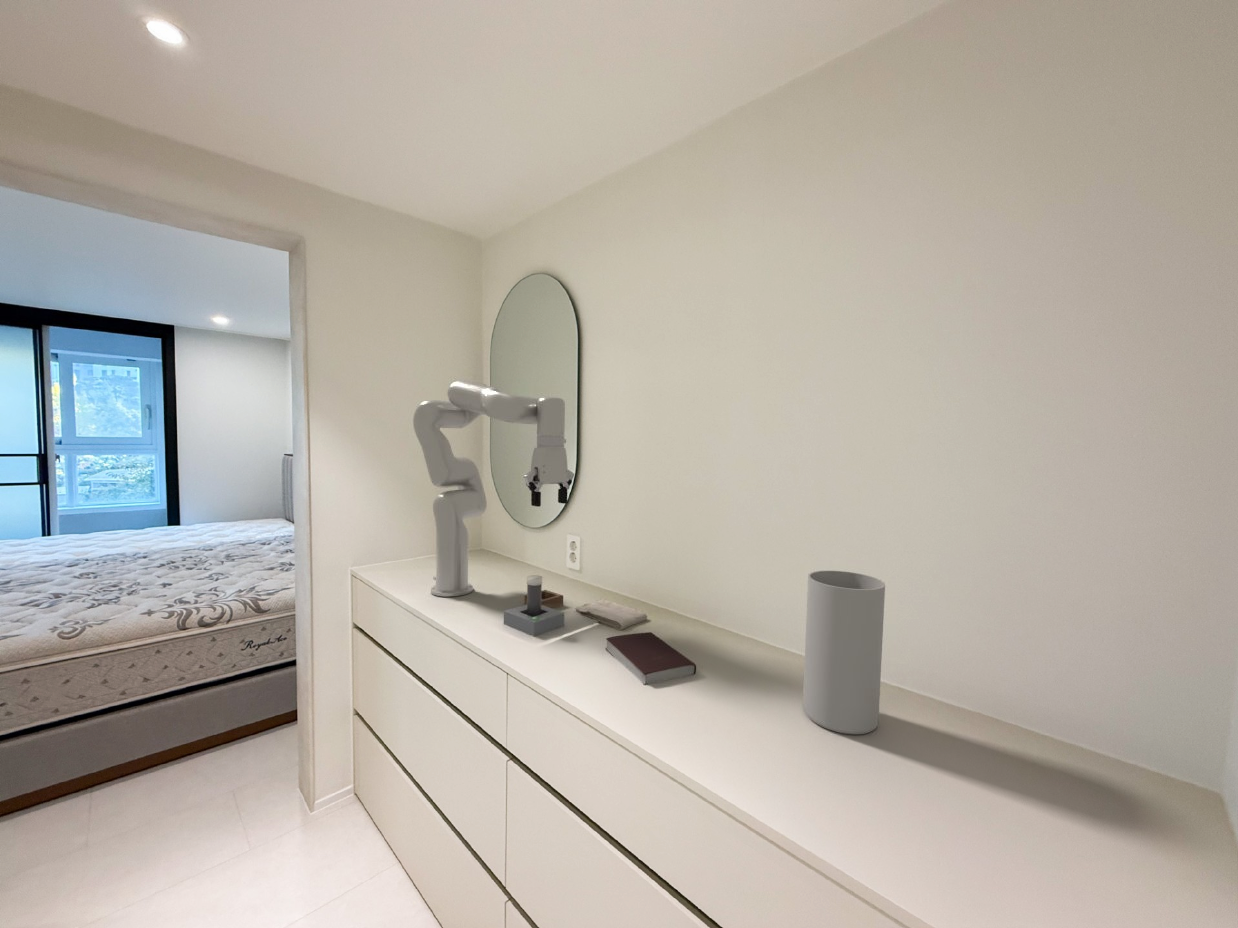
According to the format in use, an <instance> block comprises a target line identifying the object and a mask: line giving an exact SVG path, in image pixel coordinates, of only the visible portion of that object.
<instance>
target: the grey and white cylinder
mask: <svg viewBox="0 0 1238 928" xmlns="http://www.w3.org/2000/svg"><path fill="white" fill-rule="evenodd" d="M526 585H527V586H526V587H527V589H526V590H527V591H526V595H527V615H529V616H531V617H534V616H537V615H541V591H543V590H542V589H543V588H542V585H543V576H542V575H537V574H533V575H528V576H527V577H526Z"/></svg>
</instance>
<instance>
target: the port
mask: <svg viewBox="0 0 1238 928" xmlns="http://www.w3.org/2000/svg"><path fill="white" fill-rule="evenodd" d="M503 625H505V626H507V627H510V628H511V629H515V630H517V631H519V632H521V633H524V634H526V635H528V636H530V637H531V636H532V637H536V636H540V635H542V634H545V633H548V632H552V631H553V630H557V629H560V628H563V627H564V626H565V612H563V611H560V610H557V609H556V608H554V609H552V608H549V607H546V606H543V605H541V615H537V616H534V617H531V616H529V615H527V604H526V605H525V604H523V605H520V606H516V607H513V608H509V609H506V610H503Z"/></svg>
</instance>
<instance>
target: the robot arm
mask: <svg viewBox="0 0 1238 928" xmlns="http://www.w3.org/2000/svg"><path fill="white" fill-rule="evenodd" d="M446 394H447V398H448V401H446V400H438V399H437V400H426V401H423V402H421V403H420V404H418V405H417V407H416V409H415V411H414V413H413V419H412V423H413V424H412V425H413V430H414V433H415V436H416V438H417V440H418V442H419V444H420V447H421V450H422V453H423V457H424V462H425V465H426V469H427V472H428V476H429V478H430V482H431V483H432V485H433V486H435V487H436V488H440V489H441V488H442V489H443V488H444V489H445V488H446V489H447V488H456V487H457V488H458V489H453V490H451V489H450V490H447V491H443V492H441V493H439V494H438V495H436V497H435V498H434V500H433V503H432V512H433V517H434V522H435V528H436V529H435V530H436V531H435V537H436V538H435V539H436V541H435V542H436V544H435V545H436V546H435V548H436V549H435V551H436V555H435V556H436V557H435V558H436V559H435V560H436V561H435V563H436V564H435V566H436V567H435V569H436V570H435V575H434V576H433V577H432V578H433V580H434V581H435V585H433V586H431V588H430V594H432V595H433V596H438V597H443V598H444V597H446V598H448V597H458V596H465V595H467V594H469V593H471V592H473V590H474V585H472V583H469V532H468V528H467V526H466V524H465V522H464V520H468V519H474V518H475V519H476V518H479V517H480V516H482V515H483V514H484V513H485V512H486V509H487V497H486V492H485V489H484V486H483V482H482V479H481V475H480V472H479V469H478V467H477V464H476V463H475V462H474V461H473V460H472V459H470V458H468V457H464V456H460V457H458V456H455V455H454V453H453V450H452V447H451V443H450V441H449V440H448V438H447V436H446V435H445V434H444V433H443V432H442V431H441V429H440V428H442V429H462V428H465V427H467V426H469V425H470V424H472V423H473V422H474V421H475V420H476V419H478V418H479V417H480V416H481V415H485V416H486V417H489V418H491V419H494V420H499V421H503V422H506V423H511V424H522V425H536V426H537V427H536V447H534V448H533V452H532V456H531V464H530V470H529V472H527V473H526V474H524V476H523V479H524V481H525V485H526V486H527V487H528V489H529V491H530V492H531V493H530V495H531V497H530V500H531V501H530V502H531V504H530V505H531V506H532V507H538V508H539V507H541V505H542V504H541V503H542V502H541V501H542V493H541V492H542V491H540V490H541V488H542V487H543V485H554V484H557V485H558V487H559V488H557V489H558V490H557V502H558V504H563V505H564V504H566V505H567V504H568V490H569V489H570V486H571V485H572V484H573V479H574V478H575V477H574V476H575V473H574V472H572V471H571V470H570V469H568V456H567V450H566V447H565V444H566V443H567V439H566V438H565V428H566V425H565V424H566V423H565V421H566V416H565V415H566V404H565V403H566V402H565V400H564V399H563V398H562V397H561V398H560V397H554V396H553V397H552V396H548V397H547V396H545V397H540V398H537V397H536V398H535V397H530V396H522V395H515V394H509V393H505V392H501V391H500V390H499V389H498V388H496V387H494V386H491V385H487V384H485V383H482V382H475V381H471V380H470V381H469V380H468V381H467V380H458V381H454V382H453V383H451V384H450V386H449V387H448V388H447V393H446Z"/></svg>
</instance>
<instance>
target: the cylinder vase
mask: <svg viewBox="0 0 1238 928" xmlns="http://www.w3.org/2000/svg"><path fill="white" fill-rule="evenodd" d="M806 596H807V597H806V598H807V599H806V617H805V619H806V621H805V640H804V641H805V643H804V663H803V664H804V667H803V670H804V671H803V687H802V688H803V693H802V696H803V697H802V709H803V711H804V714H805V715H806V716H807V717H808V718H809V719H810V720H811V721H812V722H814V723H815V724H817V725H819V726H820V727H822V728H824V729H826V730H829V731H832V732H837V733H839V734H846V735H863V734H864V735H865V734H868V733H871V732H872V731H874V730H875V729H876V728H877V727H878V725H879V717H880V697H881V696H880V695H881V680H882V679H881V678H882V657H883V636H884V616H885V599H886V598H885V597H886V584H885V582H884V581H883V580H881V579H879V578H876V577H873V576H870V575H867V574H862V573H857V572H851V571H846V570H845V571H841V570H817V571H813V572H810V573H809V574H808V575H807V594H806Z"/></svg>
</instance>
